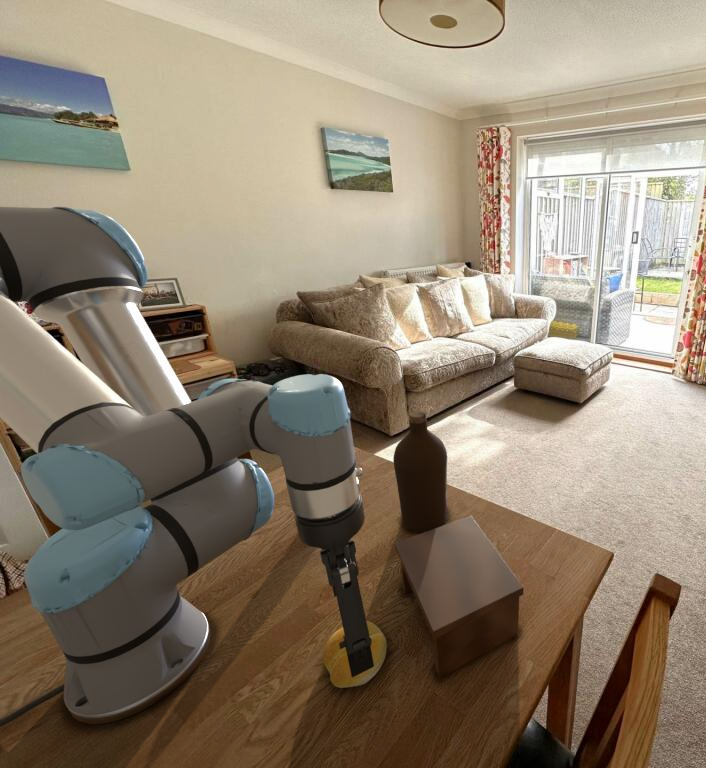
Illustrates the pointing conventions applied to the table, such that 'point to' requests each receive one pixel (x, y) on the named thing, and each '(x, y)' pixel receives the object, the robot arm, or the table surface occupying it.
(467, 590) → the block
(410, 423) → the olive oil
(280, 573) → the table surface
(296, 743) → the table surface
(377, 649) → the bread roll
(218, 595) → the table surface
